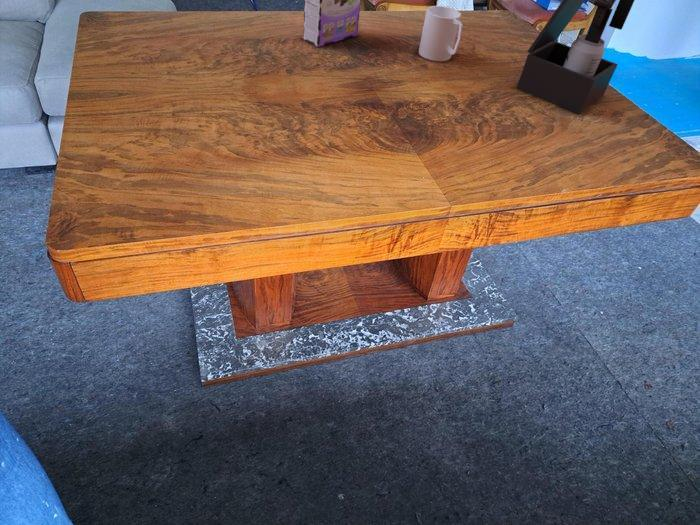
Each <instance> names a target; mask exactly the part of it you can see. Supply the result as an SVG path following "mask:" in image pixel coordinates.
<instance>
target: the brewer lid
mask: <svg viewBox="0 0 700 525" xmlns="http://www.w3.org/2000/svg"><path fill="white" fill-rule="evenodd" d="M585 2H586V0H562V1H560V3H559V5H558V6H557V8H556V9H555V10H554V12H553V14H552V15H551V17H550V18H549V19H548V21H547V22H546V23H545V25H544V27H543V28H542V30H541V31H540V32H539V34H538V35H537V37H535V39H534V41H533V42H532V43H531V45H530V47H529V48H528V50H527V53H529V54H530V53H532V52H534V51H536V50H538V49H540V48H542V47H544V46H546V45H548V44H549V43H551V42H553V41H557V40H558V39H559V38H560V36H561V35H562V33H563V32H564V31H565V29H566V28H567V27H568V25H569V24H570V22H571V21H572V19H574V17H575V15H576V14H577V13H578V11H579V10H580V9H581V7H582V6H583V4H585Z"/></svg>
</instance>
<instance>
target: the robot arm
mask: <svg viewBox="0 0 700 525" xmlns="http://www.w3.org/2000/svg"><path fill="white" fill-rule="evenodd" d="M616 1H617V0H594V2H593V6H594V7H596V10H595V13H594V15H593V17H592V20H591V23H590V25H589V27H588V29H587V33H586V37H585V40H587V41H590V42H593V43H596V44H598V43H599V41H600V38H601V39H602V36H603V33H604V32H605V28H606V26H607V24H608V21H609V19H610V17H611V14H612V12H613V6H614V4H615V3H616ZM634 3H635V0H619V1H618V3H617V5H616V8H615V10H614V13H613V15H612V17H611V20H610V22H609V24H608V27H611V28H612V29H617V30H621V31H622V29H623V27H624V25H625V23H626V21H627V19H628V16H629V14H630V12H631V9H632V7H633V5H634Z"/></svg>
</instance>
